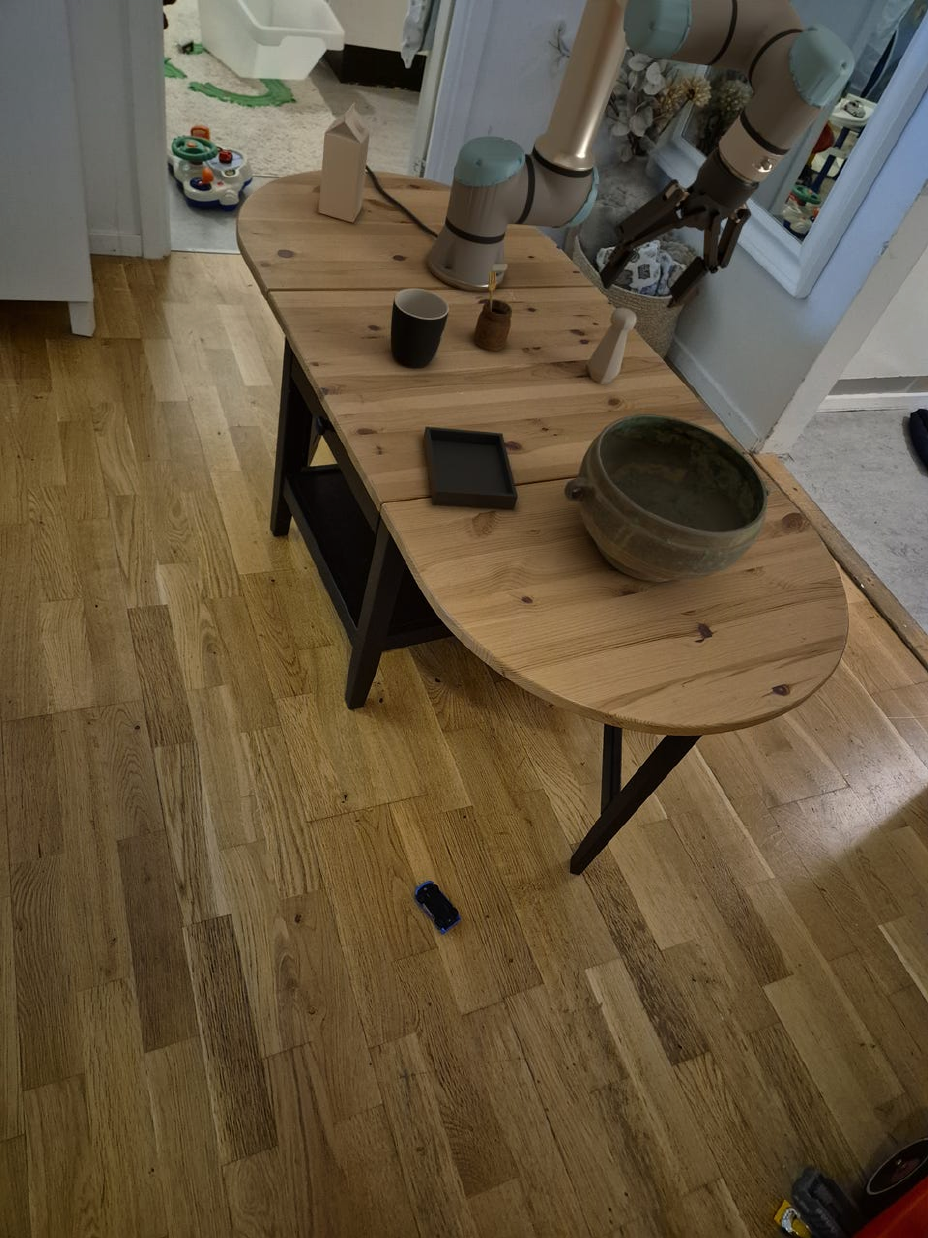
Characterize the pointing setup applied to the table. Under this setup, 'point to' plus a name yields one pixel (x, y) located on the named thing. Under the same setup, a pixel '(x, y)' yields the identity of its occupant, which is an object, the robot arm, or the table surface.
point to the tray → (469, 468)
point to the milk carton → (344, 166)
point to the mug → (417, 326)
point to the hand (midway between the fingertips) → (639, 289)
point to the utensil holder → (493, 321)
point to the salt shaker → (611, 347)
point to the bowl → (668, 498)
